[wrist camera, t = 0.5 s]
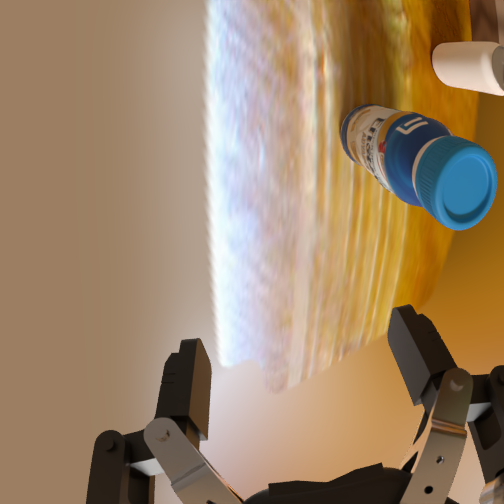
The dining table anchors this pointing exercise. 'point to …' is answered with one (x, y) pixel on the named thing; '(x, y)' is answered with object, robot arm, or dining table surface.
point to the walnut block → (487, 21)
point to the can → (471, 65)
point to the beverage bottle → (422, 163)
